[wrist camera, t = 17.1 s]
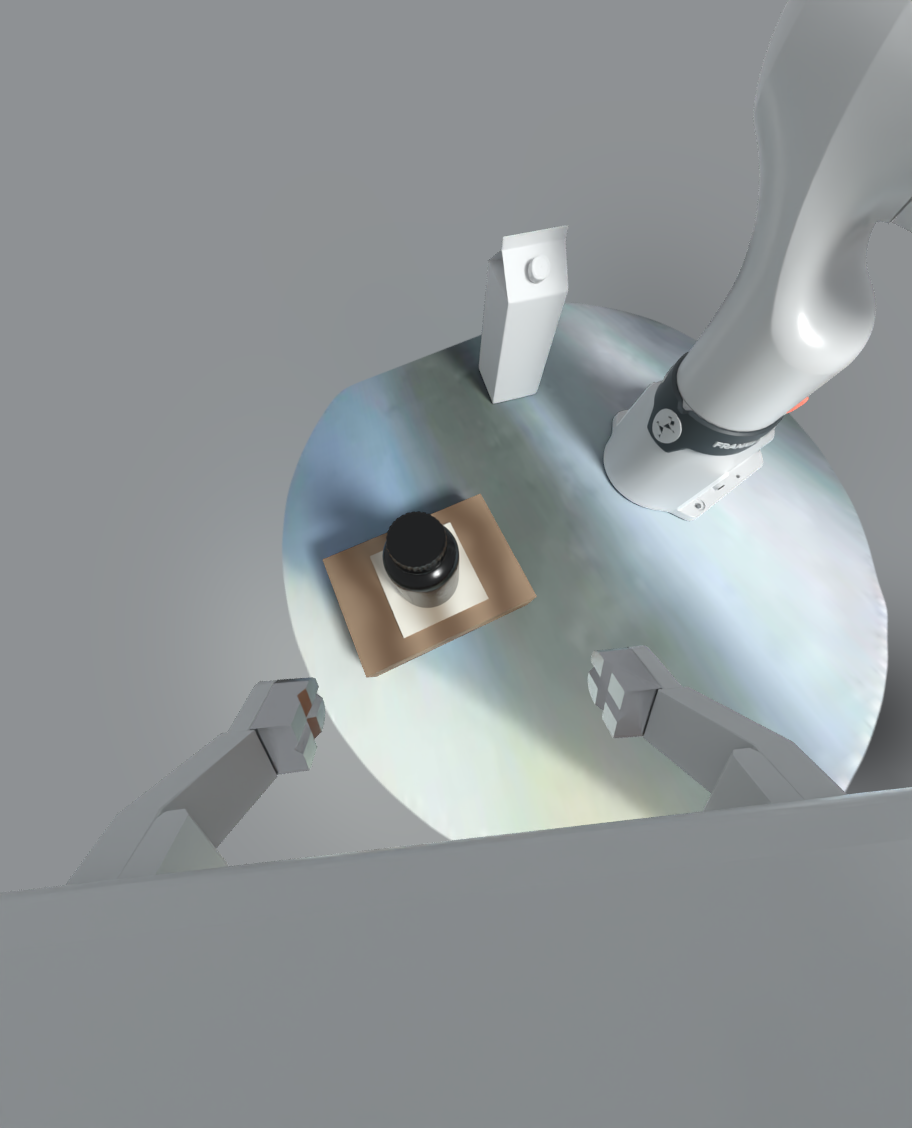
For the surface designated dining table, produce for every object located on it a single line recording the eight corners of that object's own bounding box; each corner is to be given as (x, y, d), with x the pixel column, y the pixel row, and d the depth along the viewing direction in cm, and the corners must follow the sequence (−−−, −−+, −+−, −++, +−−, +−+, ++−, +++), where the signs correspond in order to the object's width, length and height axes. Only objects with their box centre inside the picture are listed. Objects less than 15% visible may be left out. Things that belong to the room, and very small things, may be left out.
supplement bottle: (448, 542, 39) (447, 490, 28) (466, 599, 37) (473, 567, 26) (390, 558, 39) (364, 511, 27) (404, 617, 37) (384, 592, 25)
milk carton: (478, 369, 54) (492, 215, 36) (520, 359, 54) (555, 204, 36) (492, 404, 52) (515, 261, 34) (536, 394, 52) (581, 248, 34)
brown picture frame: (477, 511, 46) (480, 492, 41) (527, 604, 43) (537, 595, 38) (336, 571, 44) (321, 558, 38) (376, 676, 40) (365, 677, 35)
